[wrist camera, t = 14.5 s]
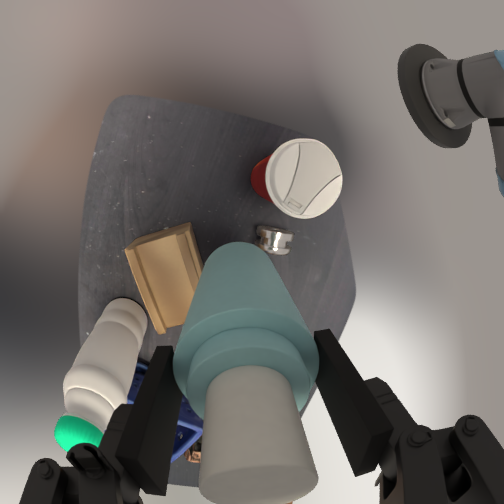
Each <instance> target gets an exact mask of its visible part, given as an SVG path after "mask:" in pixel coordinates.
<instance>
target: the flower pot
mask: <svg viewBox="0 0 504 504" xmlns="http://www.w3.org/2000/svg"><path fill="white" fill-rule="evenodd" d="M147 369H148V366H147V365H145V364H143V363H141V362H137V363H136V368H135V372H134V376H133V380H132V383H131V387H130V390H129V393H128V395H127V404H134V401H135V399H136V396H137V393H138V391H139V388H140V386H141V383H142V381H143V378H144V376H145V373H146V371H147ZM106 430H107V429H106ZM104 432H105V430H104ZM202 433H203V421H202V419H201V418H200V417H199V416H198V415H197V414H196V413H195V412H194V410H193V409H192V407H191V406H190V404H189V401H188V399H187V398H186V397H185V396H184V394H183V397H182V402H181V407H180V412H179V418H178V423H177V429H176V435H175V440H174V446H173V452H172V458H171V463H172V462H173V461H174V460H175V459H177V458H178V457H179V456H180V455H182V454H183V453H184V452H185V451H186V450H187V449H188V448H189V447H190V446H191V445H192V444H193V443H194V442H196V440H197V439H198V438H199V437H200V436H201V435H202ZM181 434H183V437H182V439H180V436H181Z"/></svg>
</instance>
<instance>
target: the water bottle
mask: <svg viewBox="0 0 504 504" xmlns="http://www.w3.org/2000/svg"><path fill="white" fill-rule="evenodd" d="M146 329H147V316H146V314H145V312H144V310H143V309H142V307H141V306H140V305H139V304H137V303H136V302H134V301H132V300H130V299H126V298H118V299H115V300H113V301H111V302H110V303H109V304H108V305H107V306H106V308H105V309H104V311H103V313H102V316H101V317H100V318H99V319H98V321H97V322H96V324H95V327H94V330H93V331H92V332H91V333H90V335H89V336H88V338H87V339H86V341H85V342H84V344H83V346H82V347H81V349H80V351H79V353H78V355H77V357H76V359H75V361H74V363H73V366H72V368H71V369H70V370H69V371H68V373H67V374H66V376H65V379H64V383H63V391H64V398H65V408H66V411H67V413H64V414H63V415H62V416H61V417H60V419H59V420H58V422H57V425H56V427H55V431H54V436H55V439H56V441H57V443H58V444H59V445H60V446H61V447H62V448H63V449H64V450H65V451H67V452H68V451H69V450H70V448H71V447H73V446H74V445H76V444H79V443H91V444H93V445H95V446H97V447H99V444H100V442H101V439H102V437H103V435H104V430H106V429H107V425H108V423H109V422H110V418H111V416H112V414H113V411H114V410H115V409H116V408H117V407H118V406H119V405H120V404H121V403H123V404H127V395H128V393H129V390H130V387H131V383H132V380H133V376H134V372H135V368H136V363H137V358H138V353H139V351H140V348H141V346H142V341H143V337H144V335H145V332H146Z"/></svg>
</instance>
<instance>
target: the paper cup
mask: <svg viewBox="0 0 504 504" xmlns="http://www.w3.org/2000/svg"><path fill="white" fill-rule="evenodd" d="M251 184H252V187H253V189H254V190H255V192H256V193H257V194H258V195H260V196H261V197H263V198H264V199H266V200H268V201H270V202H272V203H274V204H275V205H276V206H277V207H278V208H279V209H280V210H281V211H283V212H284V213H286V214H288V215H290V216H292V217H295V218H302V219H305V218H313V217H316V216H319V215H320V214H322V213H324V212H325V211H326V210H328V209H329V208H330V207H331V206H332V205H333V204H334V203H335V201H336V200H337V198H338V196H339V194H340V192H341V188H342V173H341V170H340V166H339V164H338V161H337V160H336V158H335V156H334V154H333V152H332V151H331V150H330V149H329V148H328V147H327V146H326V145H324V144H323V143H321V142H320V141H317V140H315V139H303V138H301V139H294V140H290V141H288V142H286V143H284V144H282V145H281V146H279V147H278V148H277V149H276V150H275V152H274V153H273V154H271V155H270V156H268V157H266V158H265V159H263V160H262V161H260V162H259V163H258V164H257V165H256V166H255V167H254V168H253V170H252V173H251Z"/></svg>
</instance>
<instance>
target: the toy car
mask: <svg viewBox="0 0 504 504" xmlns="http://www.w3.org/2000/svg"><path fill="white" fill-rule="evenodd" d="M201 445H202V435H201V436H200V437H199V438H198V439H197V440H196V442H194V443H193V444H192V445H191V446H190V447H189V448H188V449H187V450H186V451H185V452H184V456H185V457H186V460H188V461H191V462H199V463H200V458H201Z"/></svg>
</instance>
